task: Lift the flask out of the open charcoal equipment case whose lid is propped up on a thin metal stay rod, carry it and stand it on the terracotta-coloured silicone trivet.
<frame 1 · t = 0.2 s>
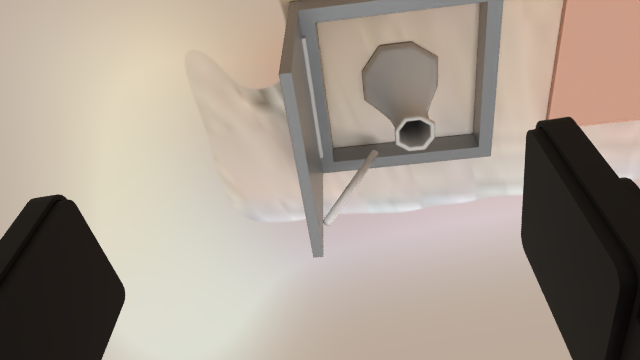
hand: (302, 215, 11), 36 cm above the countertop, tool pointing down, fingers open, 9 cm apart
flask: (399, 76, 49), resting in case
trivet: (635, 50, 47), on the countertop
case: (399, 77, 49), on the countertop
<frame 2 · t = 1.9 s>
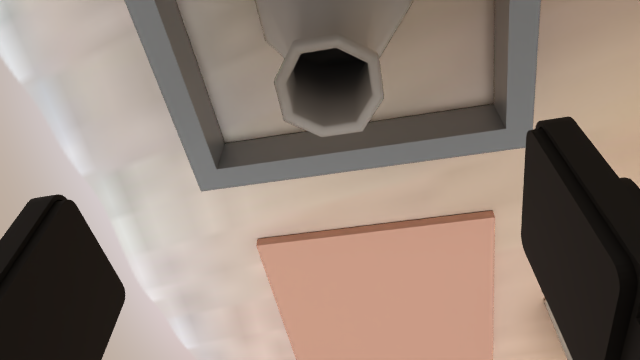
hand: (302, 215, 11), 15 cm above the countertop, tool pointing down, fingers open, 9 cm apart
trivet: (384, 302, 35), on the countertop
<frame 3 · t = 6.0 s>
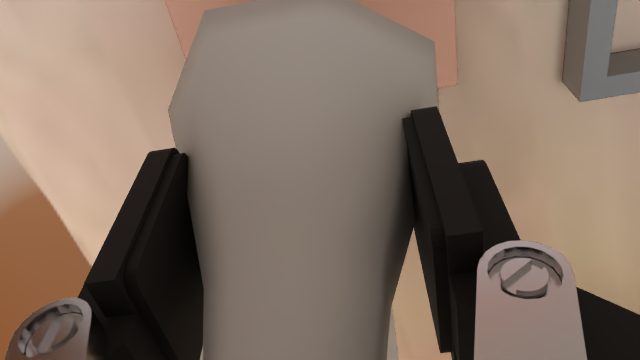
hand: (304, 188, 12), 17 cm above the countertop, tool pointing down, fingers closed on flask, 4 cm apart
flask: (307, 117, 14), point 14 cm above the countertop, touching gripper
supplement box: (307, 213, 35), on the countertop
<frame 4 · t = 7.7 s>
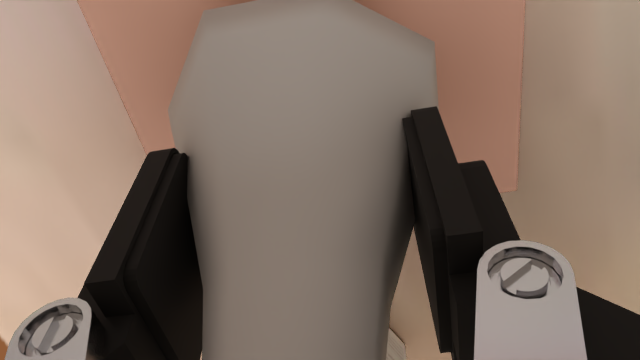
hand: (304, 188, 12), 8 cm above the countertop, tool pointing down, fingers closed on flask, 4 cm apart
flask: (307, 117, 14), point 5 cm above the countertop, touching gripper
supplement box: (310, 328, 27), on the countertop
trivet: (312, 50, 18), on the countertop
when the fingers open (5 cm above the countertop, at t = 8.7 s): flask drops 1 cm, resting on trivet.
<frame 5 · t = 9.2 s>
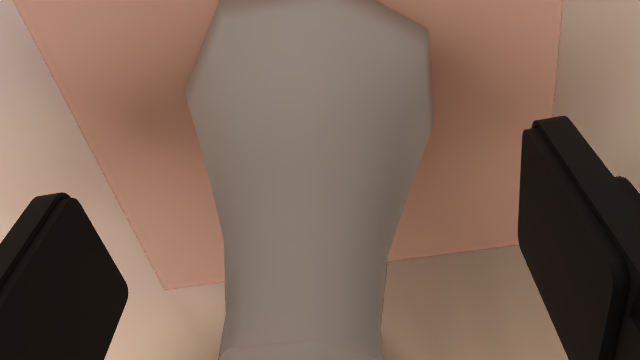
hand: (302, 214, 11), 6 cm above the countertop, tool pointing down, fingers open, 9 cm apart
flask: (312, 99, 15), resting on trivet
trivet: (308, 88, 16), on the countertop
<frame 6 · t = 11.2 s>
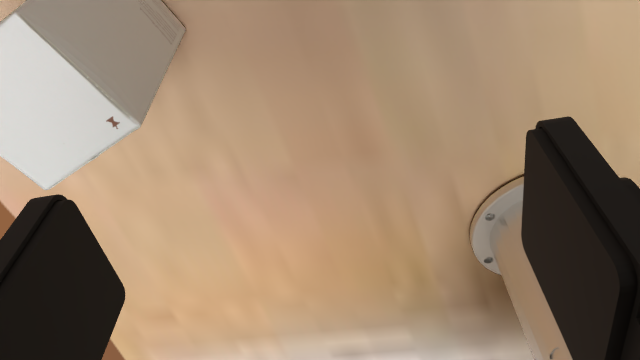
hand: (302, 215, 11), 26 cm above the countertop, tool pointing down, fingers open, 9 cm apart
supplement box: (110, 14, 35), on the countertop
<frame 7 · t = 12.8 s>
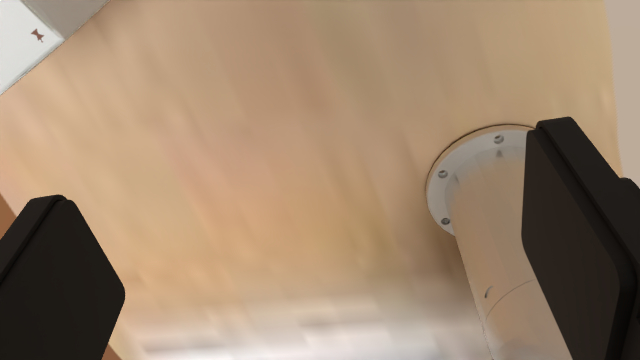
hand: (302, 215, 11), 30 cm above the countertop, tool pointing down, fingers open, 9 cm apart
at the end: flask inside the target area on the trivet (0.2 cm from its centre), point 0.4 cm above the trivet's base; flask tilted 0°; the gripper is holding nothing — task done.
